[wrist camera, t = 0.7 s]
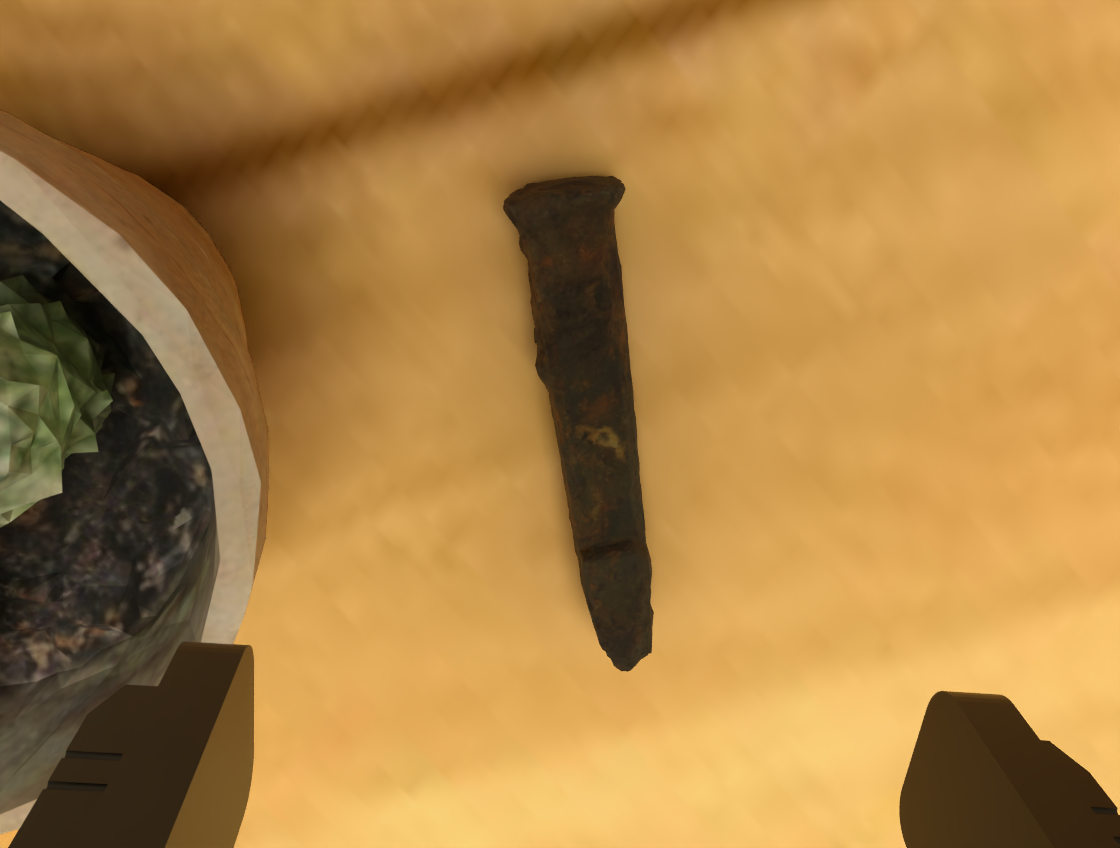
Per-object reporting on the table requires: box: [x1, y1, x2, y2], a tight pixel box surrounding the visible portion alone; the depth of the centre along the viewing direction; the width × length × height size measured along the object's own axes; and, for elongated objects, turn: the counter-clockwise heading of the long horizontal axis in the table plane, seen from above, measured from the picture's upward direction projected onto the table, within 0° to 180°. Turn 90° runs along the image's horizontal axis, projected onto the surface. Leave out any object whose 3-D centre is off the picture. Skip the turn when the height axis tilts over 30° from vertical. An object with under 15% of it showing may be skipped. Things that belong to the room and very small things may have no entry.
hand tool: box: [503, 176, 654, 672], centre depth 36 cm, size 19×4×5 cm, turn 5°
